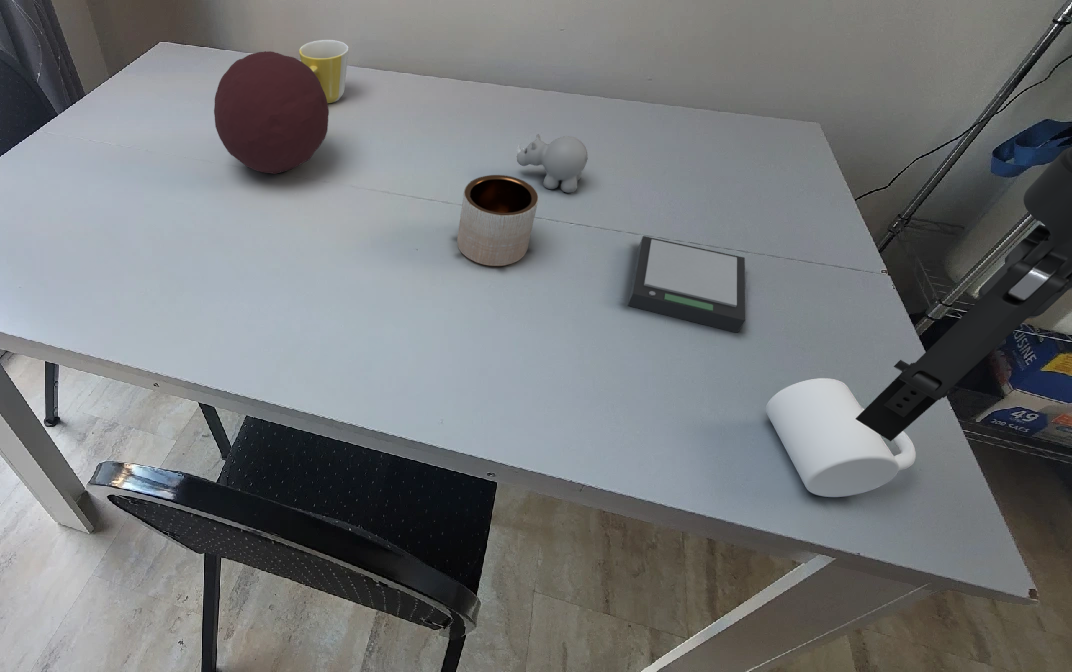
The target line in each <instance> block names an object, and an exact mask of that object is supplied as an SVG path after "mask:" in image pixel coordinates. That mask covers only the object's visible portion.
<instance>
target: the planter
mask: <svg viewBox="0 0 1072 672" xmlns="http://www.w3.org/2000/svg"><path fill="white" fill-rule="evenodd" d="M462 196H463V197H462V204H461V211H460V218H459V223H458V231H457V237H456V239H457V241H456V242H457V247H458V250H459V251H460V253H462V254H463V255H464V256H465V257H466V258H467V259H469V260H471V261H473V262H475V263H477V264H480V265H484V266H490V267H502V266H507V265H512V264H515V263H517V262H518V261H520V260H521V259H523V257H524V256H525V255H526V254H527V251H528V249H529V245H530V240H531V235H532V231H533V226H534V221H535V217H536V212H537V208H538V203H539V194H538V192H537V190H536V189H535V187H533V186H532V184H530V183H528V182H527V181H525V180H522V179H520V178H517V177H514V176H510V175H506V174H505V175H504V174H489V175H483V176H479V177H477V178H475V179H472V180H471V181H469V182H468V183H467V184H466V186H465V187H464V190H463V195H462Z"/></svg>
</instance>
